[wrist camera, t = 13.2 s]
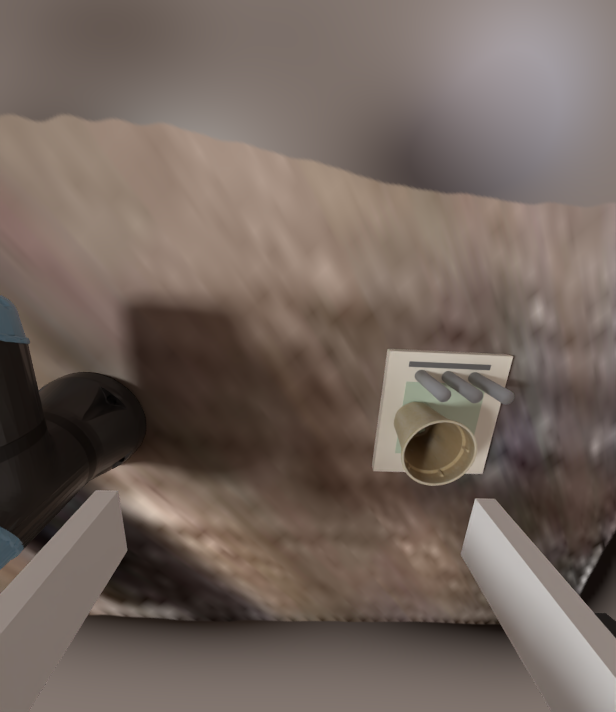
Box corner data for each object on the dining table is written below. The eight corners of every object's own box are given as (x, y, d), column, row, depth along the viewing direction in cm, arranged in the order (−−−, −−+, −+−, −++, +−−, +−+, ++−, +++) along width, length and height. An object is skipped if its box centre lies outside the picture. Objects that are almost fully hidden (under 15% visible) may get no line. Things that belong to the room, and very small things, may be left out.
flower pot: (420, 456, 46) (447, 496, 38) (370, 432, 44) (387, 468, 36) (456, 408, 44) (493, 440, 36) (404, 381, 42) (430, 407, 34)
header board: (371, 466, 48) (386, 504, 40) (387, 348, 42) (408, 366, 34) (478, 469, 49) (512, 507, 41) (507, 354, 43) (554, 372, 35)
